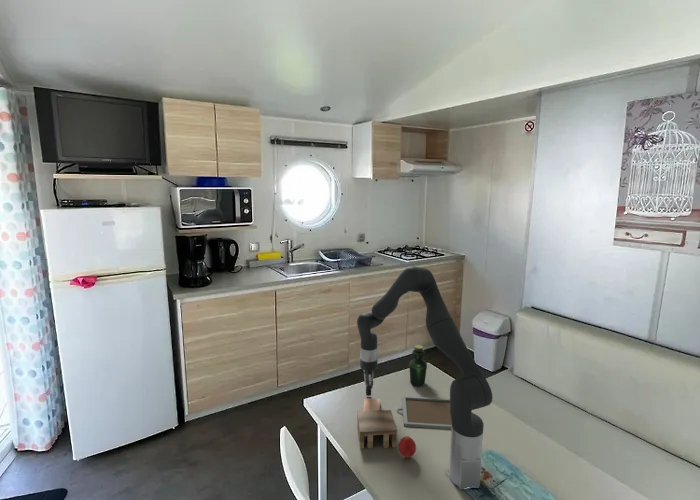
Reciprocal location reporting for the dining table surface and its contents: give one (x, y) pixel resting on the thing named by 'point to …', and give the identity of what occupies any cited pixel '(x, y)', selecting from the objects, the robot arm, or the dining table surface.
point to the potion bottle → (418, 367)
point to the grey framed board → (426, 412)
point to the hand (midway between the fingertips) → (368, 394)
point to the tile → (371, 404)
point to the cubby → (376, 427)
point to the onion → (407, 447)
